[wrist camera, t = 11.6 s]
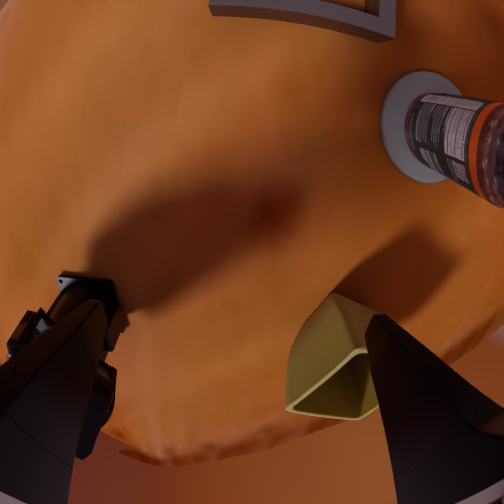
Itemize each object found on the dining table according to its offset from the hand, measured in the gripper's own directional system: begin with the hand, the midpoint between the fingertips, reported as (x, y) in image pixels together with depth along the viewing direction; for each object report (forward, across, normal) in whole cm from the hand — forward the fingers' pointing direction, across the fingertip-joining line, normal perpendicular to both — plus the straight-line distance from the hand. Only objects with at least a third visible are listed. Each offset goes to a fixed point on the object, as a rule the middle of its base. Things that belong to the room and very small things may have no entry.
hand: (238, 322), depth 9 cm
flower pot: (+13, -10, +12) cm, 21 cm away
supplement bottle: (+12, -14, -7) cm, 20 cm away
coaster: (+13, -14, -7) cm, 20 cm away
